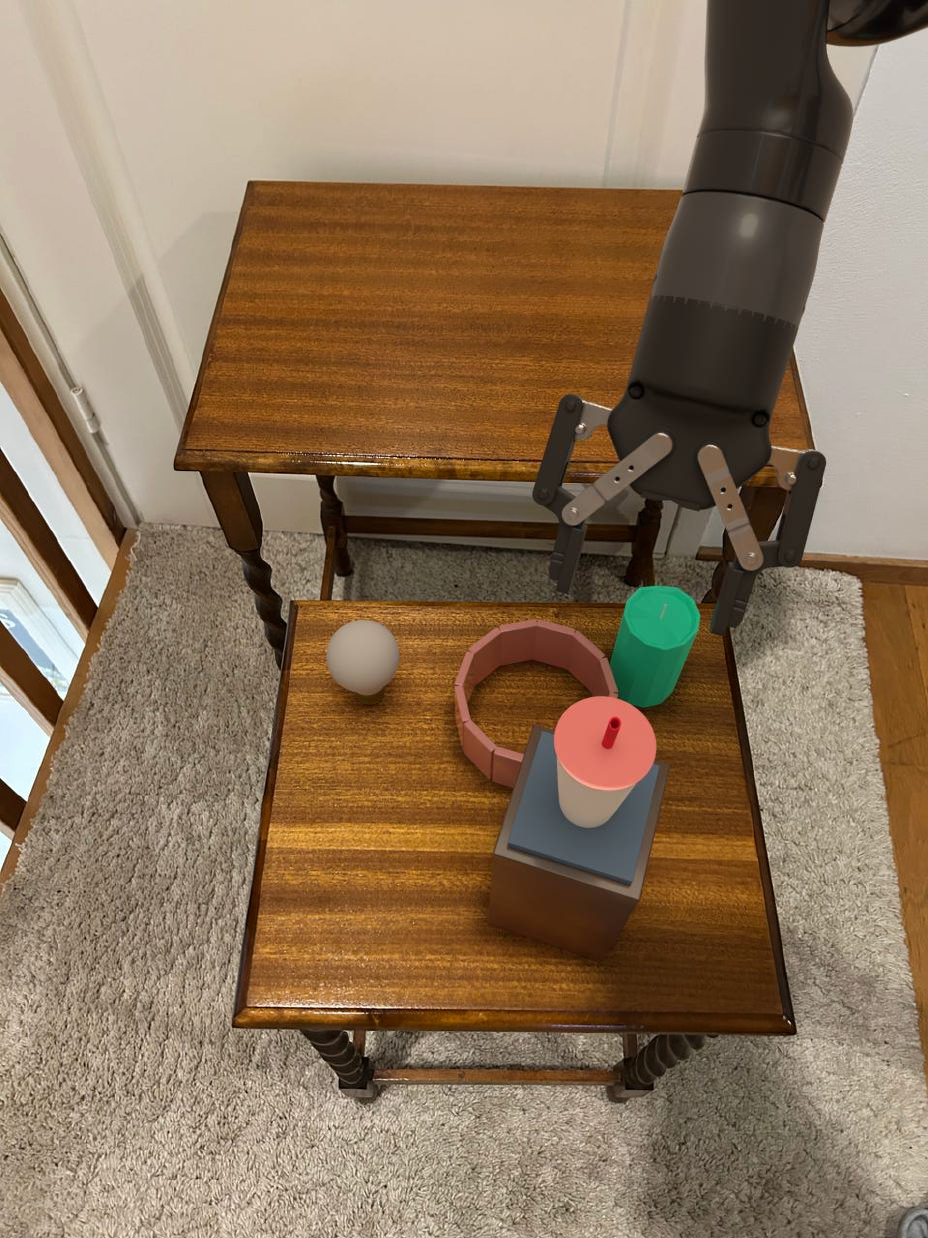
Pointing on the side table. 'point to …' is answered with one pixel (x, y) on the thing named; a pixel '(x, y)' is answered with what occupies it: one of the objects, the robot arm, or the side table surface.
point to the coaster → (579, 847)
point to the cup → (600, 757)
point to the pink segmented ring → (514, 647)
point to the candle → (653, 644)
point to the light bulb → (363, 659)
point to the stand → (563, 883)
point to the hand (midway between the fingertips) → (639, 611)
